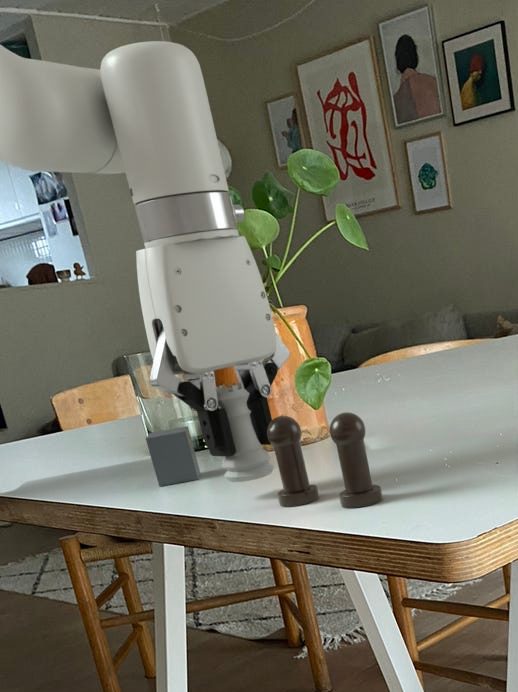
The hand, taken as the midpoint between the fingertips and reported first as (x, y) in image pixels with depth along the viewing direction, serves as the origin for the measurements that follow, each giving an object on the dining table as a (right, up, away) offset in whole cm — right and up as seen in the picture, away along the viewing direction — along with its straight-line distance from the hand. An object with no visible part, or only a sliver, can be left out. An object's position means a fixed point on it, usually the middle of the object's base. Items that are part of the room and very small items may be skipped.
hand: (243, 447), depth 82 cm
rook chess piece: (0, -3, +1) cm, 3 cm away
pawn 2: (+11, -6, -7) cm, 14 cm away
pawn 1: (+6, -5, -3) cm, 8 cm away
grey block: (-11, 0, +16) cm, 19 cm away
